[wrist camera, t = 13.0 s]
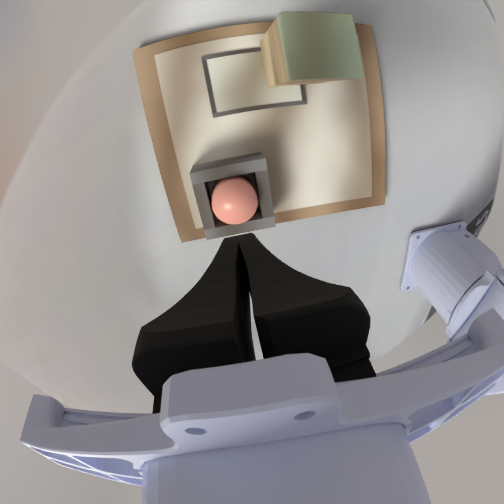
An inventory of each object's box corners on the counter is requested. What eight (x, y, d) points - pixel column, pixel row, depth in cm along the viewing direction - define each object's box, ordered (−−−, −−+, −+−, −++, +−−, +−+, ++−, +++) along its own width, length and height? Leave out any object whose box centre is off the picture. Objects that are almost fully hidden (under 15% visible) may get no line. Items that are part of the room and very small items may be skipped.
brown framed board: (367, 27, 14) (387, 20, 12) (381, 201, 23) (398, 215, 20) (135, 51, 14) (121, 44, 11) (182, 239, 22) (178, 258, 20)
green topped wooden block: (309, 39, 14) (352, 14, 8) (317, 83, 16) (363, 78, 10) (259, 42, 14) (280, 11, 8) (268, 87, 16) (293, 79, 10)
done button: (249, 168, 19) (253, 177, 17) (256, 205, 21) (260, 219, 18) (208, 176, 19) (207, 187, 17) (217, 213, 21) (217, 228, 18)
